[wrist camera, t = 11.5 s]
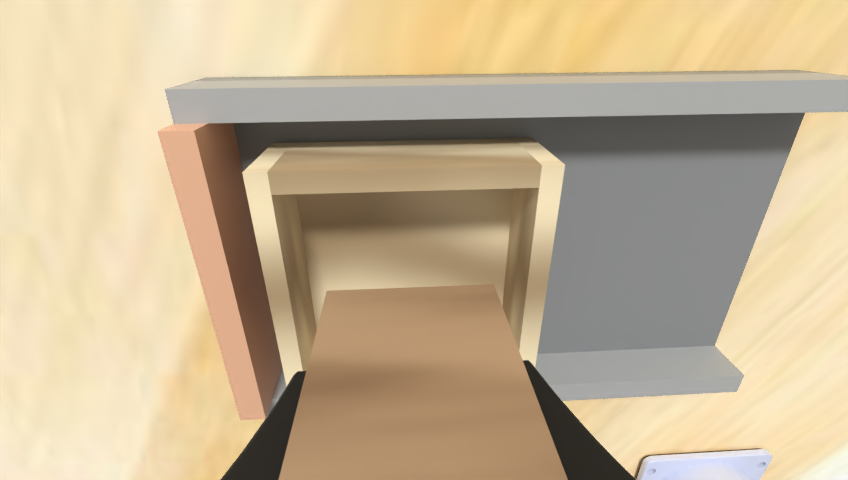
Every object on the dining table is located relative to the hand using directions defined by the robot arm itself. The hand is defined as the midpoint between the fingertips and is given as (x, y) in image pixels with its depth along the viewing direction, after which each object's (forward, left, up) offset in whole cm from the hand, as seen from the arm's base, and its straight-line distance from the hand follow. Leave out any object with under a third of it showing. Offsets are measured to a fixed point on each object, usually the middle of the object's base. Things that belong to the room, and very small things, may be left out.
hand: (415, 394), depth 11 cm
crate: (0, 0, -7) cm, 7 cm away
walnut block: (0, 0, -2) cm, 2 cm away
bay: (0, -4, -9) cm, 9 cm away
